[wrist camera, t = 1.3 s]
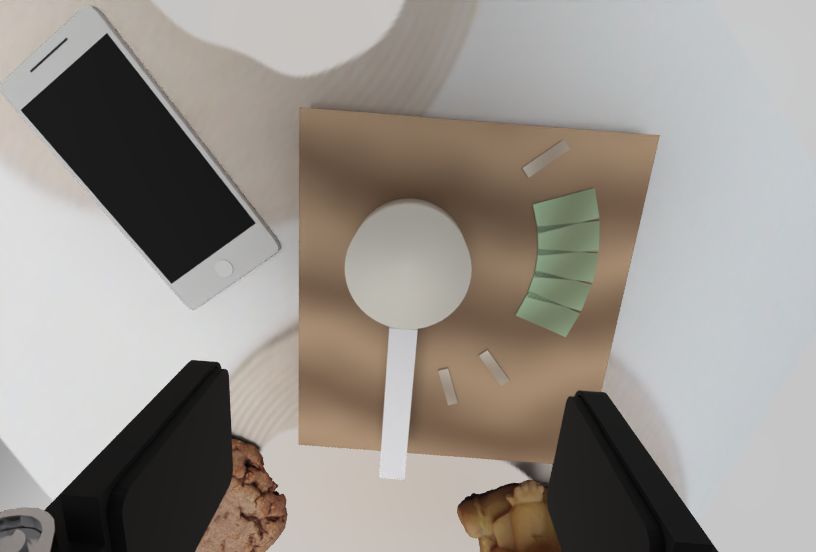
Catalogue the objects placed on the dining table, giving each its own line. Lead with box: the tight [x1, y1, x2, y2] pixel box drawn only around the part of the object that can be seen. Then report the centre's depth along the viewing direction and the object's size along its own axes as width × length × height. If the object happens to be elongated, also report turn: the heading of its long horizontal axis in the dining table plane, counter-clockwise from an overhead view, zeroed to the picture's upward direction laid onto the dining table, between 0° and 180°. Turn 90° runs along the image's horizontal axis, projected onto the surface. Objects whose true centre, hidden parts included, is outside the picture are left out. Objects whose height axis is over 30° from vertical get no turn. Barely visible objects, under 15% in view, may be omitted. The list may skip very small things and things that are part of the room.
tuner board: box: [299, 107, 660, 464], centre depth 27 cm, size 20×18×2 cm
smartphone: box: [0, 5, 281, 310], centre depth 26 cm, size 7×16×1 cm, turn 34°
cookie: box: [195, 439, 287, 552], centre depth 32 cm, size 10×11×3 cm
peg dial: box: [345, 198, 472, 480], centre depth 25 cm, size 15×6×3 cm, turn 176°
